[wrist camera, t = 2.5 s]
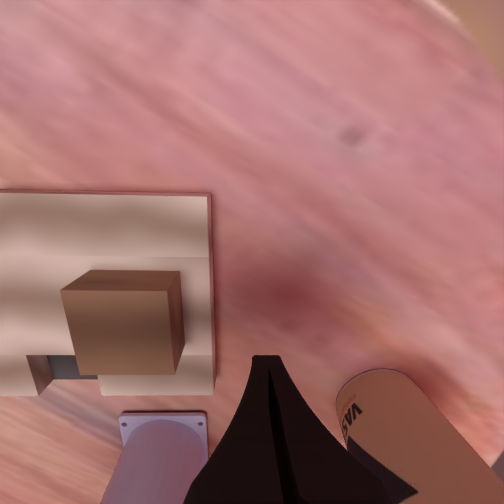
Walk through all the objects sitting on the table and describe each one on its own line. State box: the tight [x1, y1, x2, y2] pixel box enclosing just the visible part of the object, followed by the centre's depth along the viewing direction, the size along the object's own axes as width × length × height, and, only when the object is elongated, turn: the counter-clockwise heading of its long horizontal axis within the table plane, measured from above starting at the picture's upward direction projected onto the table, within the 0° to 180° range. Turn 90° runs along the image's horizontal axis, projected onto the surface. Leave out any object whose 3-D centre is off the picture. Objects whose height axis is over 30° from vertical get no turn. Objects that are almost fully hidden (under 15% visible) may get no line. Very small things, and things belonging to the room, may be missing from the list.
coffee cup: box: [336, 369, 504, 504], centre depth 19 cm, size 9×9×12 cm
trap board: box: [0, 189, 216, 396], centre depth 19 cm, size 16×26×2 cm, turn 89°
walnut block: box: [60, 270, 185, 375], centre depth 17 cm, size 6×6×3 cm
